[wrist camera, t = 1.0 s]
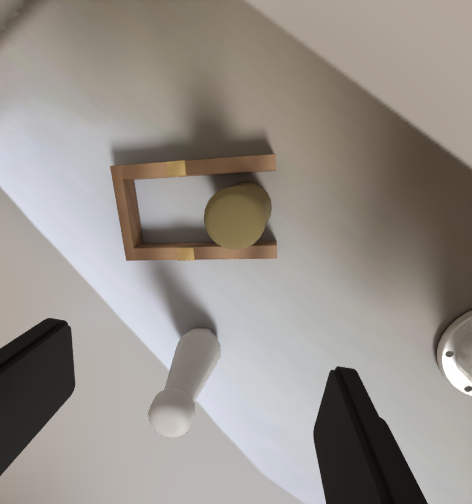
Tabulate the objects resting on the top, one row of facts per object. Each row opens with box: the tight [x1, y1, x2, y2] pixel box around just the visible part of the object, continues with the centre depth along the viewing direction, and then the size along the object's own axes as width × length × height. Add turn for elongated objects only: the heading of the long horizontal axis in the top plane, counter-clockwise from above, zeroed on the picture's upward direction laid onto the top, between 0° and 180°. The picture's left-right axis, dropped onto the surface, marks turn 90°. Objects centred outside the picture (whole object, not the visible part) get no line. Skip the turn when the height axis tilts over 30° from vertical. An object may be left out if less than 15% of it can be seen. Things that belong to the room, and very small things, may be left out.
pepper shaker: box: [204, 182, 272, 250], centre depth 25 cm, size 6×6×11 cm
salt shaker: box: [148, 328, 220, 437], centre depth 29 cm, size 6×6×13 cm
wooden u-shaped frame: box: [110, 154, 277, 261], centre depth 30 cm, size 18×11×3 cm, turn 93°
